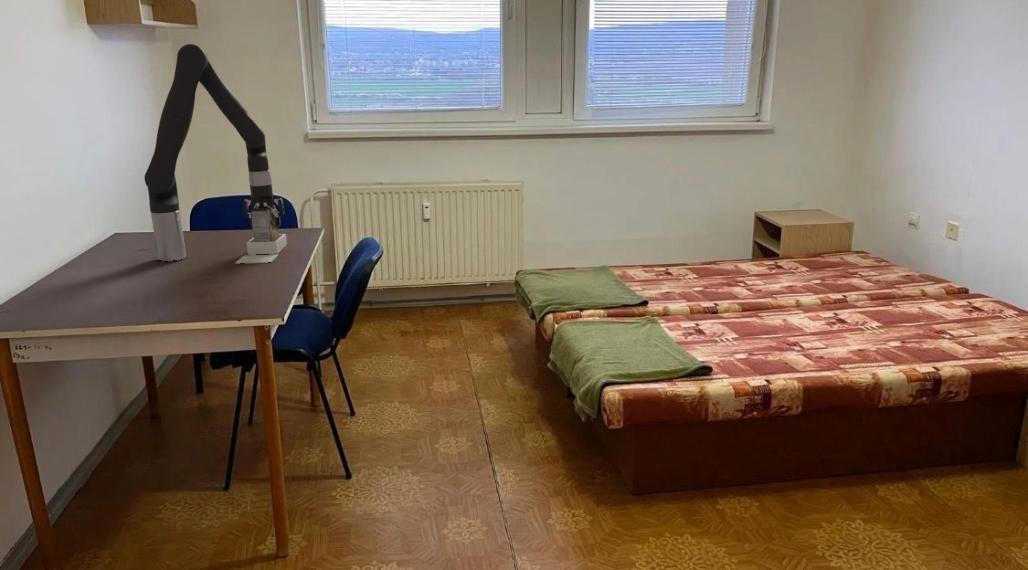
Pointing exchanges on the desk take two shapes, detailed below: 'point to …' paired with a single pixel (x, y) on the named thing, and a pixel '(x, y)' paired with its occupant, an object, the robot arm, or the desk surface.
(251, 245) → the bin
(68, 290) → the desk surface
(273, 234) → the coffee box
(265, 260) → the mat
